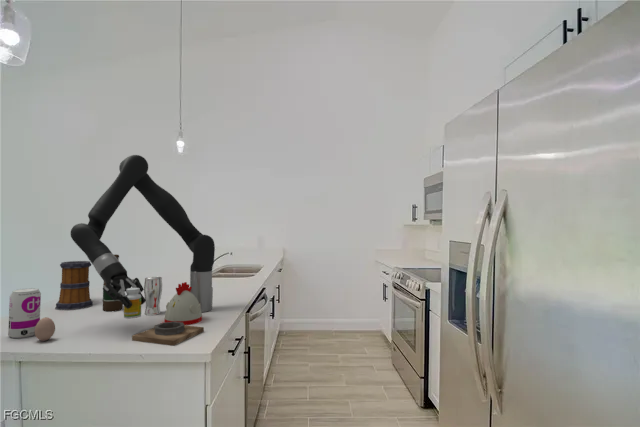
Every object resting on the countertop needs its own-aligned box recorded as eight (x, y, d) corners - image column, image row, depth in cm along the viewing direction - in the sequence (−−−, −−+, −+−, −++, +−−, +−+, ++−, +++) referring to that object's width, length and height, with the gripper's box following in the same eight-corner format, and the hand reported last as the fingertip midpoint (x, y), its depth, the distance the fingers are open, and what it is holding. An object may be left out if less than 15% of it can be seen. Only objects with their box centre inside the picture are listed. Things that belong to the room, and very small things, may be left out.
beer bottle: (113, 312, 156) (115, 255, 157) (98, 311, 158) (99, 255, 158) (127, 308, 164) (128, 254, 164) (111, 307, 165) (113, 253, 166)
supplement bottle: (142, 317, 126) (142, 289, 127) (124, 319, 124) (124, 290, 124) (140, 314, 131) (140, 286, 131) (122, 316, 128) (123, 288, 128)
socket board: (165, 327, 135) (166, 317, 135) (203, 331, 130) (203, 321, 130) (131, 340, 119) (132, 329, 119) (173, 345, 115) (173, 334, 115)
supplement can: (44, 333, 126) (46, 289, 126) (16, 340, 118) (18, 293, 119) (31, 330, 129) (32, 287, 129) (2, 336, 122) (4, 291, 122)
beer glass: (139, 314, 153) (140, 278, 153) (152, 311, 159) (153, 276, 159) (152, 316, 150) (153, 279, 150) (165, 312, 156) (166, 277, 157)
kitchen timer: (156, 323, 140) (157, 283, 141) (181, 315, 153) (182, 279, 154) (185, 327, 135) (186, 286, 136) (209, 318, 148) (209, 281, 149)
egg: (49, 342, 116) (50, 319, 116) (30, 343, 115) (31, 319, 115) (58, 337, 121) (58, 315, 122) (39, 338, 120) (40, 315, 120)
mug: (65, 302, 175) (67, 259, 175) (100, 300, 179) (101, 259, 180) (49, 311, 156) (50, 264, 157) (88, 309, 161) (89, 263, 161)
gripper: (98, 263, 123) (126, 302, 119) (131, 259, 137) (158, 293, 133) (86, 278, 124) (113, 317, 121) (120, 273, 138) (146, 307, 134)
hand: (136, 304), depth 127 cm, fingers closed on supplement bottle, 5 cm apart
